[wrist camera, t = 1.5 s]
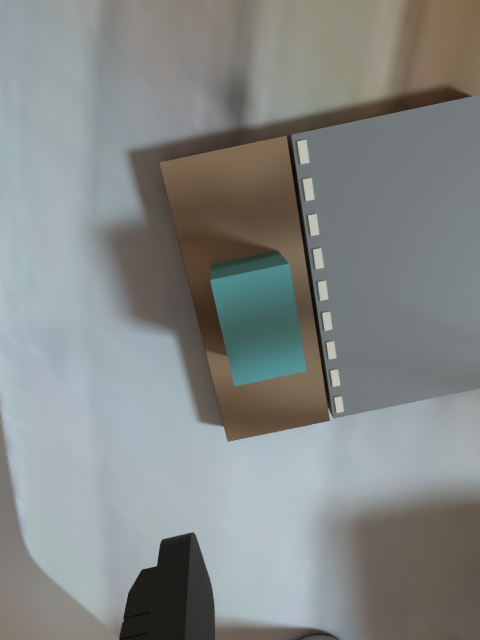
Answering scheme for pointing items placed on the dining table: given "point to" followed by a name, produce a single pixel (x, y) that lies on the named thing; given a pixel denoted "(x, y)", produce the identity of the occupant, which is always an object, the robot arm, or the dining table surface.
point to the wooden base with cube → (249, 284)
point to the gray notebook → (393, 253)
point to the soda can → (319, 637)
